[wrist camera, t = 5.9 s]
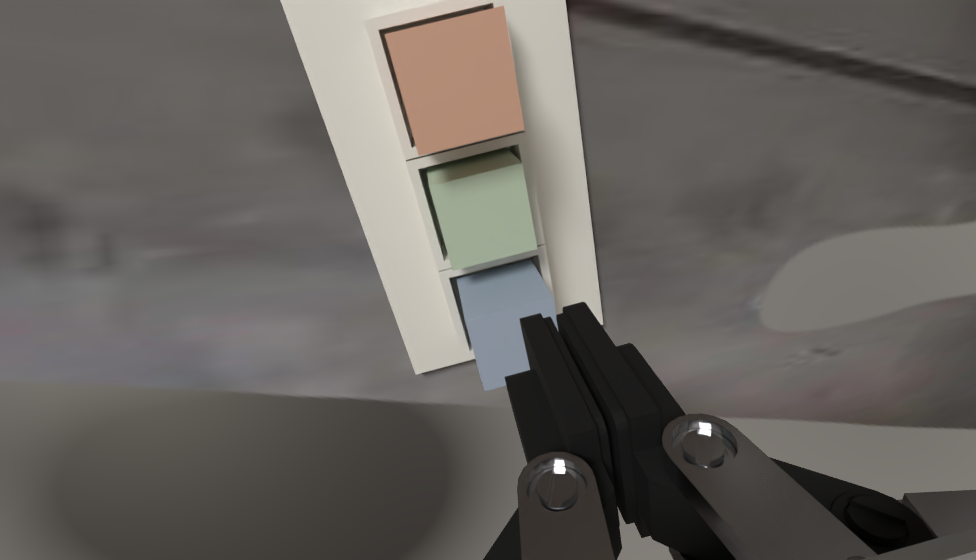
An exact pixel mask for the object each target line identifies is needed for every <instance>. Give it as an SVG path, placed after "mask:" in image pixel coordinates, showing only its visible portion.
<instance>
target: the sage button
mask: <svg viewBox="0 0 976 560" xmlns="http://www.w3.org/2000/svg"><path fill="white" fill-rule="evenodd" d="M426 168H427V175H428V183H429V188H430V192H431V196H432V199H433V203H434V206H435V210H436V213H437V217H438V221H439V224H440V228H441V231H442V235H443V239H444V242H445V246H446V249H447V253H448V257H449V260H450V264H451V267H452V271H454V270H458V269H462V268H466V267H470V266H474V265H477V264H481V263H485V262H489V261H493V260H497V259H500V258H504V257H508V256H512V255H516V254H520V253H524V252H527V251H531V250H535V249H537V243H536V238H535V232H534V227H533V221H532V215H531V210H530V204H529V199H528V193H527V187H526V182H525V176H524V171H523V165H522V162H521V161H520V160H519V159H518V158H517V157H516V156H515V155H514V154H513V153H512V152H511V151H510V150H509V149H507V148H506V147H505V148H501V149H497V150H493V151H489V152H485V153H481V154H477V155H473V156H469V157H465V158H461V159H457V160H453V161H449V162H445V163H441V164H437V165H433V166H429V167H426Z"/></svg>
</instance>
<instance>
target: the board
mask: <svg viewBox="0 0 976 560" xmlns="http://www.w3.org/2000/svg"><path fill="white" fill-rule="evenodd" d="M281 3H282V6H283V9H284V11H285V14H286V17H287V20H288V23H289V25H290V28H291V31H292V34H293V36H294V39H295V42H296V45H297V47H298V50H299V53H300V56H301V58H302V61H303V64H304V67H305V70H306V72H307V75H308V78H309V81H310V83H311V86H312V89H313V92H314V94H315V97H316V100H317V103H318V105H319V108H320V111H321V114H322V117H323V119H324V122H325V125H326V128H327V130H328V133H329V136H330V139H331V141H332V144H333V147H334V150H335V152H336V155H337V158H338V161H339V164H340V166H341V169H342V172H343V175H344V177H345V180H346V183H347V186H348V188H349V191H350V194H351V197H352V200H353V202H354V205H355V208H356V211H357V213H358V216H359V219H360V222H361V224H362V227H363V230H364V233H365V235H366V238H367V241H368V244H369V247H370V249H371V252H372V255H373V258H374V260H375V263H376V266H377V269H378V271H379V274H380V277H381V280H382V282H383V285H384V288H385V291H386V294H387V296H388V299H389V302H390V305H391V307H392V310H393V313H394V316H395V318H396V321H397V324H398V327H399V329H400V332H401V335H402V338H403V341H404V343H405V346H406V349H407V352H408V354H409V357H410V360H411V363H412V365H413V368H414V371H415V374H420V373H424V372H427V371H431V370H435V369H439V368H442V367H446V366H450V365H454V364H457V363H461V362H465V361H469V360H472V359H475V355H474V352H473V348H472V345H471V341H470V337H469V334H468V330H467V327H466V323H465V319H464V314H463V309H462V304H461V299H460V294H459V289H458V284H457V278H461V277H465V276H468V275H472V274H476V273H480V272H484V271H488V270H491V269H495V268H499V267H503V266H507V265H511V264H514V263H518V262H522V261H526V260H530V259H531V260H532V262H533V264H534V265H535V267H536V269H537V271H538V272H539V274H540V276H541V277H542V279H543V281H544V283H545V284H546V286H547V288H548V290H549V291H550V293H551V295H552V296H553V298H554V303H555V309H556V315H557V314H561V313H563V311H562V309H563V307H565V306H569V305H572V304H576V303H580V302H585V303H586V304H587V305H588V307H589V308H590V310H591V311H592V313H593V314H594V316H595V317H596V319H597V320H598V321H599V323H600V324H601V325H603V318H602V309H601V301H600V292H599V283H598V275H597V266H596V258H595V249H594V241H593V232H592V223H591V215H590V206H589V198H588V189H587V180H586V172H585V163H584V155H583V146H582V138H581V129H580V120H579V112H578V103H577V95H576V86H575V78H574V69H573V60H572V52H571V43H570V35H569V26H568V18H567V9H566V0H281ZM500 6H504V10H505V16H506V22H507V28H508V33H509V39H510V45H511V51H512V57H513V63H514V69H515V75H516V80H517V86H518V92H519V98H520V104H521V110H522V116H523V121H524V127H525V130H521V131H517V132H513V133H509V134H505V135H501V136H497V137H493V138H489V139H485V140H481V141H477V142H473V143H469V144H465V145H461V146H457V147H453V148H449V149H445V150H441V151H437V152H433V153H429V154H425V155H421V156H418V152H417V148H416V145H415V141H414V138H413V134H412V131H411V127H410V123H409V120H408V116H407V113H406V109H405V106H404V102H403V98H402V95H401V91H400V88H399V84H398V81H397V77H396V73H395V70H394V66H393V63H392V59H391V56H390V52H389V49H388V45H387V41H386V38H385V34H387V33H391V32H396V31H400V30H404V29H408V28H412V27H416V26H421V25H425V24H429V23H433V22H437V21H441V20H446V19H450V18H454V17H458V16H462V15H467V14H471V13H475V12H479V11H483V10H487V9H492V8H496V7H500ZM505 147H506V148H507V149H509V150H510V151H511V152H512V153H513V154H514V155H515V156H516V157H517V158H518V159H519V160H520V161H521V162H522V165H523V171H524V176H525V182H526V187H527V193H528V199H529V204H530V210H531V215H532V221H533V227H534V232H535V238H536V243H537V249H535V250H531V251H527V252H524V253H520V254H516V255H512V256H508V257H504V258H500V259H497V260H493V261H489V262H485V263H481V264H477V265H474V266H470V267H466V268H462V269H458V270H454V271H452V267H451V264H450V260H449V257H448V253H447V249H446V246H445V242H444V239H443V235H442V231H441V228H440V224H439V221H438V217H437V213H436V210H435V206H434V203H433V199H432V196H431V192H430V188H429V183H428V175H427V168H426V167H429V166H433V165H437V164H441V163H445V162H449V161H453V160H457V159H461V158H465V157H469V156H473V155H477V154H481V153H485V152H489V151H493V150H497V149H501V148H505Z"/></svg>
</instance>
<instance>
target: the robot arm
mask: <svg viewBox="0 0 976 560" xmlns="http://www.w3.org/2000/svg"><path fill="white" fill-rule="evenodd" d="M562 311H563V313H561V314H557V315H556V320H557V326H558V330H557V328H556V326H555V324H554V322H553V320H552V318H551V317H550V316H549V317H546V318H543V316H542V314H541V313H538V314H535V315H531V316H527V317H523V318H520V325H521V330H522V335H523V339H524V344H525V348H526V353H527V357H528V362H529V367H530V370H528V371H524V372H520V373H517V374H513V375H509V376H506V377H505V382H506V386H507V390H508V394H509V398H510V401H511V405H512V409H513V412H514V417H515V420H516V424H517V428H518V431H519V435H520V439H521V442H522V446H523V449H524V453H525V456H526V460H527V465H526V466H525V467H524V468H523V470H522V472H521V474H520V476H519V479H518V487H517V493H518V508H517V510H516V511H515V513H514V515H513V516H512V517H511V519H510V521H509V522H508V523H507V525H506V526H505V528H504V529H503V531H502V532H501V534H500V535H499V537H498V538H497V540H496V541H495V543H494V544H493V546H492V547H491V549H490V550H489V552H488V553H487V555H486V556H485V558H484V559H483V560H617V558H618V556H619V553H620V551H621V549H622V544H621V537H620V529H619V526H620V525H619V516H618V509H617V506H618V508H619V510H620V512H621V515H622V517H623V519H624V521H625V522H626V524H630V523H635V525H636V527H637V529H638V531H639V533H640V535H641V538H644V537H647V536H651V537H652V539H653V540H655V541H657V542H659V543H662V544H664V545H666V546H668V547H669V552H670V554H671V555H672V557H673V559H674V560H976V490H964V491H963V490H962V491H944V492H924V493H905V494H904V496H903V499H902V500H896V499H894V498H892V497H889V496H887V495H885V494H882V493H880V492H877V491H875V490H872V489H868V488H865V487H862V486H858V485H856V484H852V483H849V482H846V481H843V480H839V479H837V478H833V477H830V476H827V475H824V474H820V473H817V472H814V471H811V470H807V469H805V468H801V467H798V466H795V465H792V464H789V463H786V462H782V461H779V460H776V459H773V458H770V457H768V456H767V455H766V454H765V453H763V452H762V451H761V450H760V449H759V448H758V447H757V446H756V445H755V444H753V443H752V442H751V441H750V440H749V439H748V438H747V437H746V436H745V435H743V434H742V433H741V432H740V431H739V430H738V429H737V428H735V427H734V426H733V425H731V424H730V423H728V422H727V421H725V420H722V419H720V418H717V417H715V416H711V415H705V414H688V415H686V414H685V413H684V411H683V410H682V409H681V407H680V406H679V405H678V403H677V402H676V401H675V399H674V398H673V397H672V395H671V394H670V393H669V391H668V390H667V389H666V387H665V386H664V385H663V383H662V382H661V381H660V379H659V378H658V377H657V375H656V374H655V373H654V371H653V370H652V369H651V367H650V366H649V365H648V363H647V362H646V361H645V359H644V358H643V357H642V355H641V354H640V353H639V351H638V350H637V349H636V347H635V346H634V345H633V344H631V343H628V344H624V345H621V346H617V347H616V346H615V345H614V343H613V342H612V340H611V339H610V337H609V336H608V335H607V333H606V332H605V330H604V329H603V327H602V326H601V324H600V323H599V321H598V320H597V319H596V317H595V316H594V314H593V313H592V311H591V310H590V308H589V307H588V305H587V304H586V303H585V302H580V303H576V304H572V305H569V306H565V307H563V309H562Z"/></svg>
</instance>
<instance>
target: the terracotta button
mask: <svg viewBox="0 0 976 560" xmlns="http://www.w3.org/2000/svg"><path fill="white" fill-rule="evenodd" d="M385 38H386V41H387V45H388V49H389V52H390V56H391V59H392V63H393V66H394V70H395V73H396V77H397V81H398V84H399V88H400V91H401V95H402V98H403V102H404V106H405V109H406V113H407V116H408V120H409V123H410V127H411V131H412V134H413V138H414V141H415V145H416V148H417V152H418V156H421V155H425V154H429V153H433V152H437V151H441V150H445V149H449V148H453V147H457V146H461V145H465V144H469V143H473V142H477V141H481V140H485V139H489V138H493V137H497V136H501V135H505V134H509V133H513V132H517V131H521V130H525V127H524V121H523V116H522V110H521V104H520V98H519V92H518V86H517V80H516V75H515V69H514V63H513V57H512V51H511V45H510V39H509V33H508V28H507V22H506V16H505V10H504V6H500V7H496V8H492V9H487V10H483V11H479V12H475V13H471V14H467V15H462V16H458V17H454V18H450V19H446V20H441V21H437V22H433V23H429V24H425V25H421V26H416V27H412V28H408V29H404V30H400V31H396V32H391V33H387V34H385Z"/></svg>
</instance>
